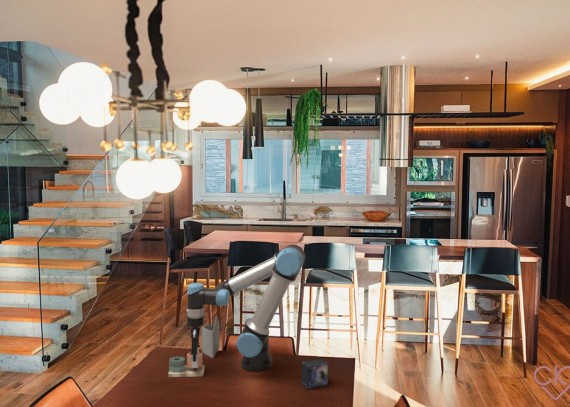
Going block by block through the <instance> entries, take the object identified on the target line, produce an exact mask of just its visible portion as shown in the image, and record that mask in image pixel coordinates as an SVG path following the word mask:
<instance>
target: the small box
mask: <svg viewBox="0 0 570 407" xmlns="http://www.w3.org/2000/svg"><path fill="white" fill-rule="evenodd" d="M328 374H329V362H327V361H326V360H324V359H322V358H318V359H312V360H307V361H305V360H304V361H302V362H301V382H300V384H301V386H303V387H304V389H306V390H313V389H316V388H323V387H327V386H328V385H329V383H328V381H329V375H328Z"/></svg>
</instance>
